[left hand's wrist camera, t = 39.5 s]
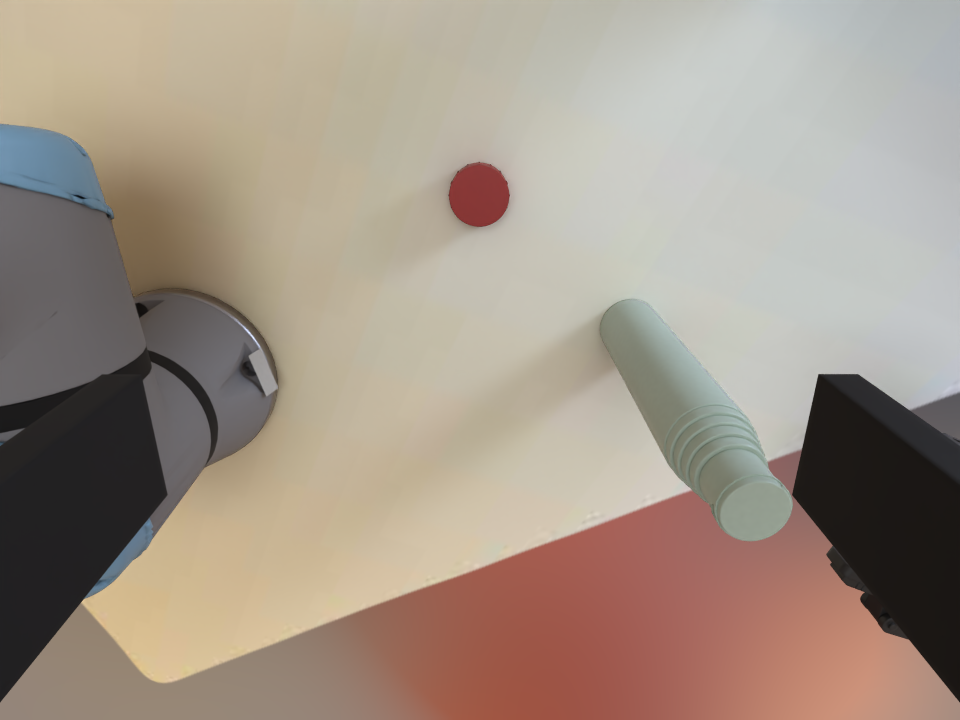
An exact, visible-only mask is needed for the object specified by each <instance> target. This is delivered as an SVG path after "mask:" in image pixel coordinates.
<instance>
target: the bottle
mask: <svg viewBox="0 0 960 720" xmlns="http://www.w3.org/2000/svg"><path fill="white" fill-rule="evenodd" d="M600 334H601V338H602V340H603V342H604V344H605V346H606V348H607V350H608V352H609V353H610V355H611V357H612V359H613V361H614V363H615V365H616V367H617V369H618V370H619V372H620V374H621V376H622V378H623V380H624V382H625V384H626V386H627V387H628V389H629V391H630V393H631V395H632V397H633V399H634V401H635V403H636V404H637V406H638V408H639V410H640V412H641V414H642V416H643V418H644V420H645V421H646V423H647V425H648V427H649V429H650V431H651V433H652V435H653V437H654V438H655V440H656V442H657V444H658V446H659V448H660V450H661V452H662V454H663V455H664V457H665V459H666V461H667V463H668V465H669V466H670V467H671V469H672V470H673V471H674V472H675V474H676V475H677V476H678V478H680V479H681V480H682V481H683V482H684V483H685V484H686V485H687V486H688V487H690V488H691V489H692V490H693V491H694V492H695V493H696V494H697V495H699V497H700V498H701V499H702V500H704V501H705V502H707V503H708V504H709V505H710V507H711V510H712V514H713V516H714V518H715V520H716V521H717V523H718V525H719V527H720V528H721V529H722V530H723V531H724V532H725V533H727V534H729V535H730V536H732V537H734V538H736V539H739V540H743V541H757V540H762V539H765V538H768V537H770V536H772V535H773V534H775V533H777V532H778V531H779V530H780V529H781V528H782V527H783V526H784V525H785V524H786V522H787V521H788V519H789V517H790V515H791V511H792V507H793V504H792V497H791V495H790V493H789V491H788V490H787V489H786V488H785V486H784V485H783V484H782V483H781V482H780V480H778V479H777V478H775V477H774V476H773V474H772V473H771V472H770V471H769V468H768V463H767V460H766V458H765V455H764V452H763V450H762V448H761V444H760V442H759V440H758V436H757V434H756V431H755V429H754V428H753V426H752V425H751V423H750V421H749V419H748V418H747V417H746V415H745V414H744V413H743V412H742V411H741V410H740V408H739V407H738V406H737V405H736V404H735V403H734V402H733V400H732V399H731V398H730V397H729V396H728V395H727V393H726V392H725V391H724V390H723V389H722V388H721V387H720V385H719V384H718V383H717V382H716V381H715V380H714V378H713V377H712V376H711V375H710V374H709V373H708V372H707V370H706V369H705V368H704V367H703V366H702V365H701V363H700V362H699V361H698V360H697V359H696V358H695V357H694V355H693V354H692V353H691V352H690V351H689V350H688V348H687V347H686V346H685V345H684V344H683V343H682V342H681V340H680V339H679V338H678V337H677V336H676V335H675V333H674V332H673V331H672V330H671V329H670V328H669V326H668V325H667V324H666V323H665V322H664V321H663V320H662V318H661V317H660V316H659V315H658V314H657V313H656V311H655V310H654V309H653V308H652V307H651V306H650V305H649V304H647V303H645V302H643V301H640V300H636V299H628V300H623V301H620V302H618V303H616V304H614V305H613V306H612V307H610V308H609V309H608V310H607V312H606V313H605V315H604V316H603V318H602V321H601V325H600Z"/></svg>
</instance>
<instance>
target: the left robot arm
mask: <svg viewBox="0 0 960 720" xmlns="http://www.w3.org/2000/svg"><path fill="white" fill-rule="evenodd" d="M111 219H114V215H113V211H112V209H111V208H110V207H109V206H108V205H106V202H105V199H104V197H103V194H102V191H101V188H100V185H99V182H98V179H97V176H96V173H95V170H94V167H93V164H92V161H91V159H90V157H89V156H88V154H87V153H86V151H85V150H84V149H83V148H82V147H81V146H80V145H79V144H78V143H77V142H75V141H73V140H72V139H71V138H69V137H67V136H65V135H62V134H60V133H57V132H54V131H50V130H45V129H40V128H33V127H25V126H16V125H7V124H0V702H1V701H2V699H3V698H4V697H5V696H6V695H7V693H8V692H9V691H10V690H11V688H12V687H13V686H14V685H15V683H16V682H17V681H18V680H19V678H20V677H21V676H22V675H23V673H24V672H25V671H26V670H27V669H28V667H29V666H30V665H31V664H32V662H33V661H34V660H35V659H36V657H37V656H38V655H39V654H40V652H41V651H42V650H43V649H44V648H45V646H46V645H47V644H48V643H49V641H50V640H51V639H52V638H53V636H54V635H55V634H56V633H57V631H58V630H59V629H60V628H61V626H62V625H63V624H64V623H65V622H66V620H67V619H68V618H69V617H70V615H71V614H72V613H73V612H74V610H75V609H76V608H77V607H78V605H79V604H80V603H81V602H82V600H83V599H85V598H88V597H90V596H92V595H94V594H96V593H98V592H100V591H101V590H103V589H104V588H106V587H107V586H108V585H110V584H111V583H112V582H113V581H114V580H115V579H116V578H117V577H118V576H119V575H120V574H121V573H122V572H123V571H124V570H125V568H126V567H127V566H128V565H129V564H130V563H131V562H132V561H133V560H134V559H136V558H137V557H139V556H140V555H141V554H142V552H143V551H144V550H146V549H147V547H148V546H149V544H150V542H151V540H152V539H153V537H154V536H155V534H156V533H157V532H158V530H159V529H160V528H161V526H162V525H163V524H164V522H165V521H166V519H167V518H168V517H169V515H170V514H171V513H172V511H173V510H174V508H175V507H176V506H177V504H178V503H179V502H180V500H181V499H182V497H183V496H184V495H185V493H186V492H187V491H188V489H189V488H190V486H191V485H192V484H193V482H194V481H195V480H196V478H197V477H198V476H199V474H200V473H201V471H202V470H203V469H204V468H205V467H207V466H209V465H211V464H213V463H215V462H217V461H219V460H221V459H223V458H225V457H227V456H230V455H232V454H233V453H235V452H237V451H238V450H240V449H241V448H243V447H244V446H246V445H247V444H248V443H249V442H251V441H252V440H253V439H254V437H255V436H256V435H257V434H258V433H259V431H260V430H261V429H262V427H263V426H264V424H265V423H266V421H267V420H268V418H269V416H270V414H271V412H272V410H273V407H274V404H275V401H276V396H277V389H278V386H277V372H276V368H275V363H274V360H273V357H272V355H271V352H270V350H269V348H268V346H267V344H266V342H265V341H264V339H263V338H262V336H261V335H260V333H259V332H258V331H257V330H256V328H255V327H254V326H253V325H252V324H251V323H250V322H249V321H248V320H247V319H246V318H245V317H244V316H243V315H242V314H240V313H239V312H238V311H237V310H235V309H234V308H232V307H231V306H229V305H227V304H226V303H224V302H222V301H220V300H218V299H216V298H214V297H212V296H209V295H206V294H203V293H200V292H196V291H191V290H186V289H158V290H153V291H149V292H145V293H142V294H140V295H137V296H135V297H133V295H132V292H131V288H130V285H129V281H128V278H127V274H126V271H125V268H124V264H123V261H122V257H121V254H120V250H119V247H118V243H117V240H116V236H115V233H114V229H113V226H112V222H111ZM792 495H793V497H794V498H795V499H796V500H797V502H798V503H799V504H800V505H801V506H802V508H803V509H804V510H805V511H806V513H807V514H808V515H809V516H810V518H811V519H812V520H813V521H814V523H815V524H816V525H817V526H818V527H819V529H820V530H821V531H822V532H823V534H824V535H825V536H826V537H827V539H828V540H829V541H830V542H831V544H832V545H833V546H834V547H835V549H836V550H837V551H838V552H839V553H840V555H841V556H842V557H843V558H844V560H845V561H846V562H847V563H848V565H849V566H850V567H851V568H852V570H853V571H854V572H855V573H856V575H857V576H858V577H859V578H860V579H861V581H862V582H863V583H864V584H865V586H866V587H867V588H868V589H869V591H870V592H871V593H872V594H873V596H874V597H875V598H876V599H877V600H878V602H879V603H880V604H881V605H882V607H883V608H884V609H885V610H886V612H887V613H888V614H889V615H890V617H891V618H892V619H893V620H894V622H895V623H896V624H897V625H898V626H899V628H900V629H901V630H902V631H903V633H904V634H905V635H906V636H907V638H908V639H909V640H910V641H911V643H912V644H913V645H914V646H915V647H916V649H917V650H918V651H919V652H920V654H921V655H922V656H923V657H924V659H925V660H926V661H927V662H928V664H929V665H930V666H931V667H932V669H933V670H934V671H935V672H936V673H937V675H938V676H939V677H940V678H941V680H942V681H943V682H944V683H945V685H946V686H947V687H948V688H949V690H950V691H951V692H952V693H953V695H954V696H955V697H956V698H957V699H958V701H959V702H960V446H959V445H958V444H956V443H955V442H954V441H952V440H951V439H949V438H948V437H947V436H945V435H944V434H942V433H941V432H939V431H938V430H937V429H935V428H934V427H932V426H931V425H929V424H928V423H926V422H925V421H924V420H922V419H921V418H919V417H918V416H917V415H915V414H914V413H912V412H911V411H909V410H908V409H907V408H905V407H904V406H902V405H901V404H900V403H898V402H897V401H895V400H894V399H892V398H891V397H890V396H888V395H887V394H885V393H884V392H882V391H881V390H880V389H878V388H877V387H875V386H874V385H872V384H871V383H870V382H868V381H867V380H865V379H864V378H863V377H861V376H860V375H858V374H818V379H817V384H816V388H815V393H814V397H813V402H812V406H811V411H810V416H809V420H808V425H807V429H806V434H805V439H804V443H803V448H802V452H801V457H800V461H799V466H798V471H797V475H796V480H795V484H794V489H793V494H792Z"/></svg>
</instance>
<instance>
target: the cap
mask: <svg viewBox="0 0 960 720" xmlns="http://www.w3.org/2000/svg"><path fill="white" fill-rule="evenodd" d="M507 184H508V183H507V181H505V178H504V177H503V175H502V174H501V171H499V170H497V169H496V168H495V167H493V166H491V164H490V165H489V164H486V163H480V162H479V163H473V164H469V165H468V164H467V166H465V167H463V168H462V169H461V170H460V171H458V172H457V174H456V176H455V177H454V179H453V181H452V182H451V187H450V192H449V200H450V205H451V208H452V210H453V212H454V213H455V215H456V216H457V217H458V218H459V219H460V220H461V221H463V222H464V223H466V224H468V225H471V226H476V227H482V226H487V225H490V224H492V223H494V222H496V221H497V220H498V219H499V218H501V216H502V215H503V214H504V212H505V211H506V208H507V206H508V202H509V196H510V195H509V190H508V186H507Z"/></svg>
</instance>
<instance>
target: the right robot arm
mask: <svg viewBox="0 0 960 720" xmlns="http://www.w3.org/2000/svg"><path fill="white" fill-rule="evenodd" d="M942 434H944V435H945V436H947V437H948V438H949V439H951V440H952V441H954V442H955V443H956V444H958V445H959V446H960V440H959V439H957V438H955V437H952V436H950V435H948V434H946V433H942ZM826 555H827V557H828V558H829V559H830V561H831V562H832V563H831V564H830V565H831V567H832V568H833V569H834V570H835V572H836V573H837V574H838V576H839V577H840V578H841V580H842V581H843V582H844V583H845V584H846V585H847V586H850V587H853V588H855V589H858V590H861V591H863V592H865V593H863V594H862V596H861V598H860V600H861V602H862V604H863V605H864V606H865V607H866V608H867V609H868V610H869V612H870V613H871V614H872V615H873V617H874V618H875V619H876V621H877V622H878V624H879V626H880V627H881V628H882V630H883V631H884V632H886V633H889V634H893V635H896V636H899V637H902V638H905V639H908V638H907V636H906V635H905V634H904V633H903V631H902V630H901V629H900V628H899V626H898V625H897V624H896V623H895V622H894V620H893V619H892V618H891V617H890V615H889V614H888V613H887V612H886V610H885V609H884V608H883V607H882V605H881V604H880V603H879V602H878V600H877V599H876V598H875V597H874V596H873V594H872V593H871V592H870V591H869V589H868V588H867V587H866V586H865V584H864V583H863V582H862V581H861V579H860V578H859V577H858V576H857V575H856V573H855V572H854V571H853V570H852V568H851V567H850V566H849V565H848V563H847V562H846V561H845V560H844V558H843V557H842V556H841V555H840V553H839V552H838V551H837V550H836V549H835V547H834V546H832V548H831V549H830V550H829V551H828V553H827V554H826Z"/></svg>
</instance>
